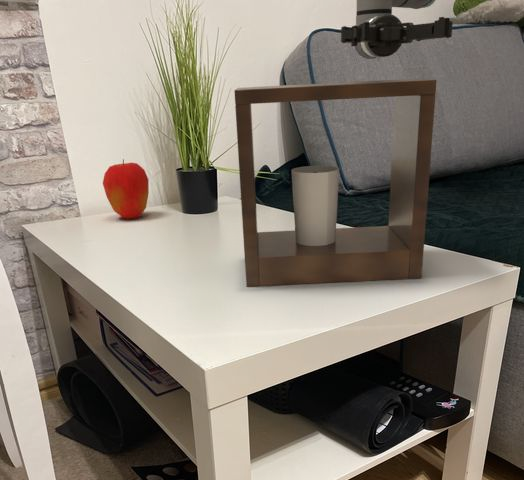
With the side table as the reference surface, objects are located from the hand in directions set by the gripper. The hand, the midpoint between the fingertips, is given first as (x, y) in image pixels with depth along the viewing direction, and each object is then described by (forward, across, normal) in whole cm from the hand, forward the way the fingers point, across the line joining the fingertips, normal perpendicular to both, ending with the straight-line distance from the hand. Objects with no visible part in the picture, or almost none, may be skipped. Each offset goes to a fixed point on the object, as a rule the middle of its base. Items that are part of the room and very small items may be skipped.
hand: (406, 28), depth 98 cm
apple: (-12, +54, -32) cm, 64 cm away
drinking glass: (+29, +19, -28) cm, 45 cm away
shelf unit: (+30, +17, -32) cm, 47 cm away
